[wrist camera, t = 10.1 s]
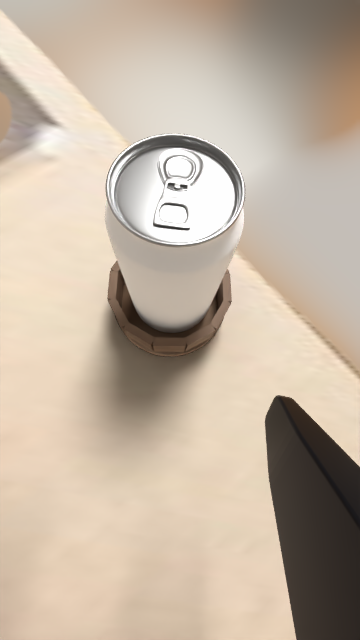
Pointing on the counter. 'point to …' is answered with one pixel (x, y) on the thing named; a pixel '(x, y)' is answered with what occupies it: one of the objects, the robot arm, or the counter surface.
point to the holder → (164, 341)
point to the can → (174, 225)
